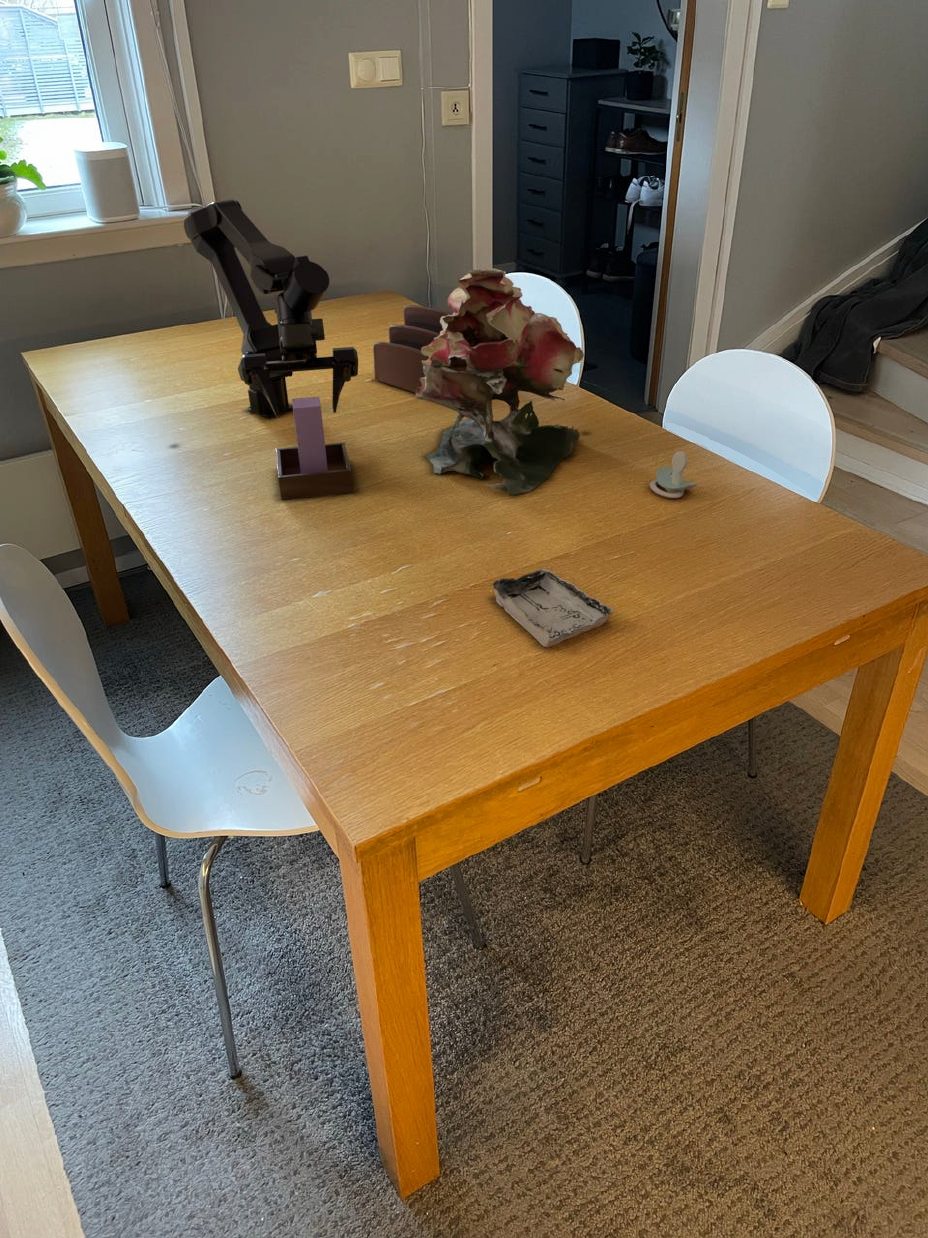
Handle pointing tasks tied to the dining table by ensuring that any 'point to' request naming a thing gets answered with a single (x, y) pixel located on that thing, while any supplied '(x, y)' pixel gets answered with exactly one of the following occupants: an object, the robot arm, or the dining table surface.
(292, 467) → the tray
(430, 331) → the letter holder
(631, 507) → the dining table surface
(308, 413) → the block
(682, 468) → the pacifier
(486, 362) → the rose bouquet
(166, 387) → the dining table surface
